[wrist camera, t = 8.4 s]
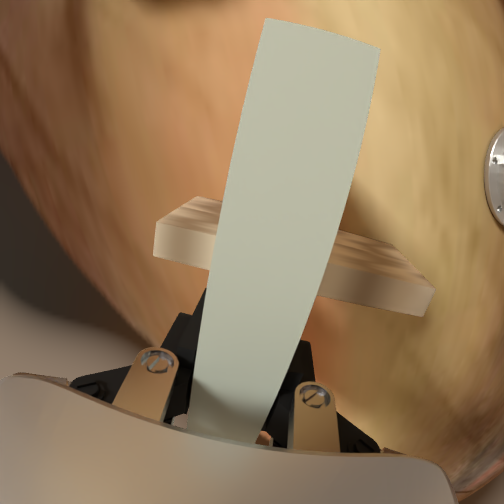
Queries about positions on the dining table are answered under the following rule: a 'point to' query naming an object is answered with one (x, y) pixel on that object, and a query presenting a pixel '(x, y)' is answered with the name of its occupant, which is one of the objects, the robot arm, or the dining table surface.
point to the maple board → (337, 270)
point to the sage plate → (278, 219)
